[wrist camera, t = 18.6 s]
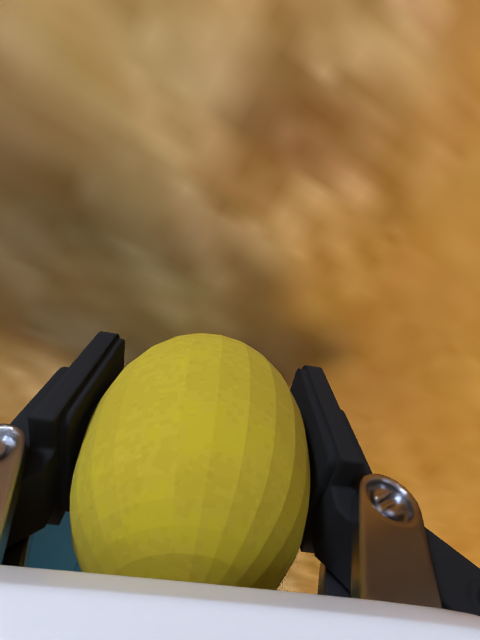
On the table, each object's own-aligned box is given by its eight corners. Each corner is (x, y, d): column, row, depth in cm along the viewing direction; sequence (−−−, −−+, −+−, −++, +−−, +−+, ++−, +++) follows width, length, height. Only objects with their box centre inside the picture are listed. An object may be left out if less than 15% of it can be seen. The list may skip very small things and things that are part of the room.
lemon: (116, 396, 13) (-44, 705, 5) (162, 269, 10) (3, 487, 3) (246, 438, 14) (261, 745, 6) (310, 330, 12) (443, 599, 4)
